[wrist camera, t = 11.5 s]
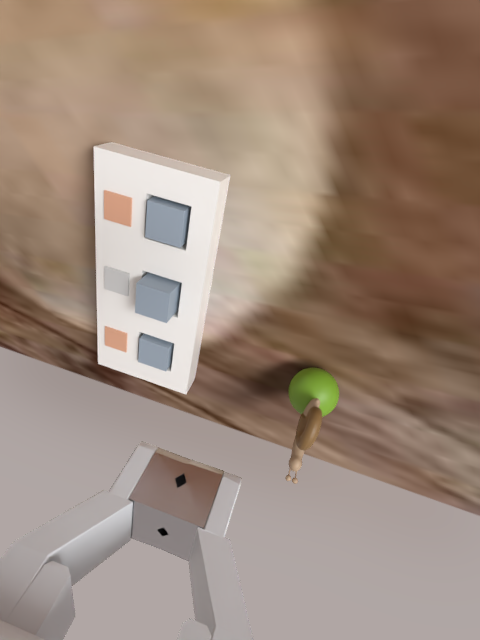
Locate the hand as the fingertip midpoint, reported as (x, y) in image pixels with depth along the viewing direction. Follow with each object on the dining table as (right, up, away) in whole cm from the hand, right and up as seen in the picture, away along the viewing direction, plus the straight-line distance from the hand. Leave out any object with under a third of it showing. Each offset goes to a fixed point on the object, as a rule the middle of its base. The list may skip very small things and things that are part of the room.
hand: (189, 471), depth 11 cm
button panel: (-8, +9, +32) cm, 34 cm away
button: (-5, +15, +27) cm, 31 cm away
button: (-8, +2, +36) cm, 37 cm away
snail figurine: (+10, -3, +34) cm, 36 cm away
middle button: (-7, +8, +31) cm, 32 cm away
